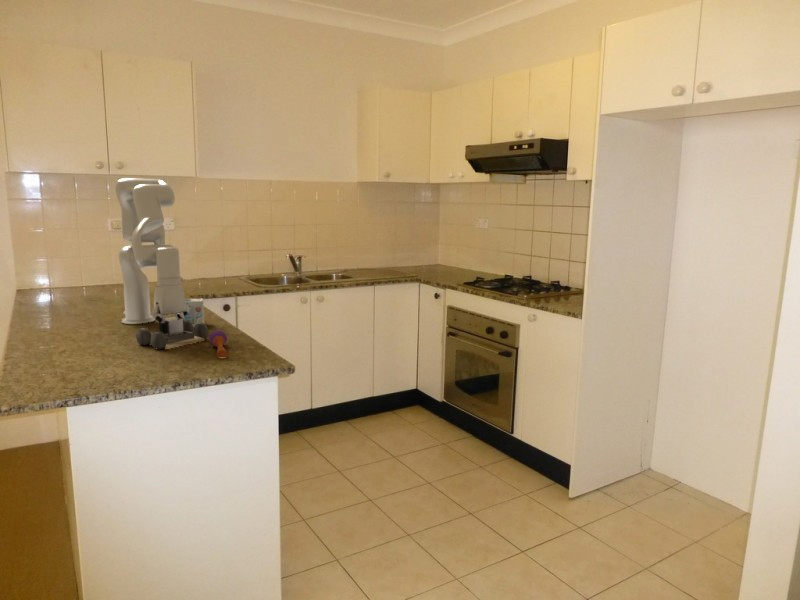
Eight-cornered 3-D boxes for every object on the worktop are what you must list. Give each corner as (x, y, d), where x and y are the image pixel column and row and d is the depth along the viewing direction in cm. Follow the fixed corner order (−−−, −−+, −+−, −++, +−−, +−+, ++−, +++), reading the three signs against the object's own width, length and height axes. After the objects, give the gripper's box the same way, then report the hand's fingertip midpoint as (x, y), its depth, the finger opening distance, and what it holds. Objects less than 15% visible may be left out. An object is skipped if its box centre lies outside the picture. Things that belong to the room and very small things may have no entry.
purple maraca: (210, 348, 184) (206, 330, 202) (215, 365, 186) (210, 346, 204) (229, 343, 186) (224, 326, 204) (233, 360, 188) (227, 341, 206)
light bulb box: (175, 328, 228) (173, 301, 227) (177, 324, 235) (175, 298, 233) (203, 327, 231) (202, 300, 229) (204, 323, 238) (203, 298, 236)
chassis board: (135, 343, 204) (134, 327, 203) (182, 334, 219) (181, 318, 218) (161, 351, 195) (160, 333, 193) (208, 340, 210) (208, 324, 209)
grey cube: (160, 335, 206) (159, 319, 205) (174, 332, 210) (173, 316, 209) (169, 338, 203) (168, 321, 202) (183, 335, 207) (182, 318, 206)
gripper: (184, 278, 212) (186, 326, 215) (140, 283, 198) (143, 334, 201) (196, 280, 208) (199, 328, 211) (152, 285, 194) (156, 337, 197)
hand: (171, 331), depth 206 cm, fingers open, 5 cm apart
